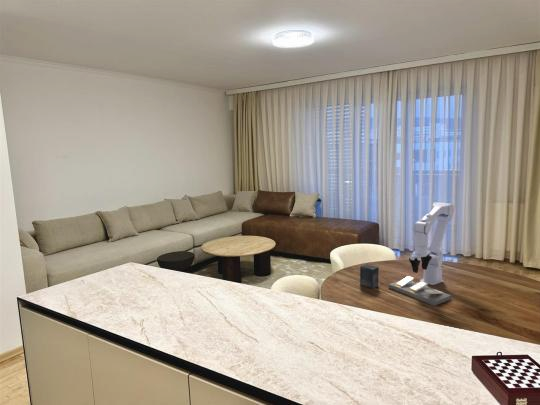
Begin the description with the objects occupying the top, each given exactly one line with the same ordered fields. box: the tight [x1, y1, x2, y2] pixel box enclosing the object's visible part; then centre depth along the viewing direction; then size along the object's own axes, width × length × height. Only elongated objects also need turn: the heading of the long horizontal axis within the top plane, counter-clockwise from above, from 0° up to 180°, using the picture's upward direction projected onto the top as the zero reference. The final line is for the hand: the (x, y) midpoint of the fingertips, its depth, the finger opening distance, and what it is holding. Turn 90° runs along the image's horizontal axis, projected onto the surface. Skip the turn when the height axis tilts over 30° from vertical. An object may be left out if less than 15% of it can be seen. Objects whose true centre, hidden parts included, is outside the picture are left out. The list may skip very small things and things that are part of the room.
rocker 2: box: [410, 281, 429, 292], centre depth 178 cm, size 9×4×1 cm, turn 121°
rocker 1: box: [397, 275, 414, 287], centre depth 185 cm, size 9×4×1 cm, turn 121°
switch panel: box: [388, 279, 452, 307], centre depth 178 cm, size 13×26×2 cm, turn 32°
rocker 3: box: [424, 289, 443, 294], centre depth 171 cm, size 9×4×1 cm, turn 122°
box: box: [359, 263, 379, 289], centre depth 189 cm, size 8×6×11 cm
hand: (419, 270), depth 183 cm, fingers open, 7 cm apart
